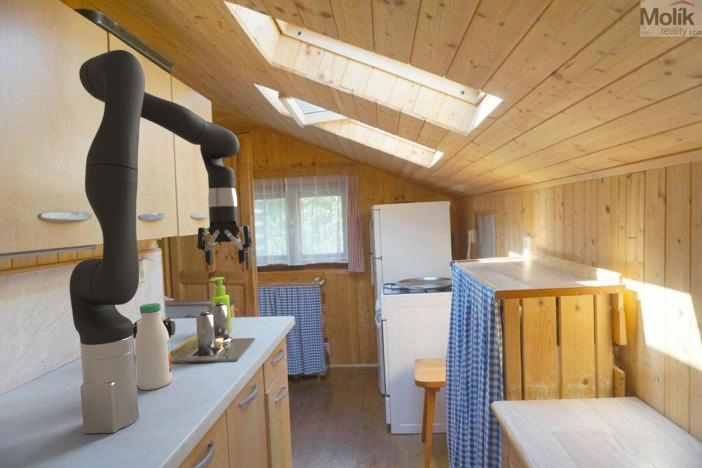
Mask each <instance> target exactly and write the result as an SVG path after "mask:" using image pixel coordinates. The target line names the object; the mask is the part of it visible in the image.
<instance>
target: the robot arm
mask: <svg viewBox="0 0 702 468" xmlns="http://www.w3.org/2000/svg"><path fill="white" fill-rule="evenodd" d="M78 71H79V72H78V73H79V74H78V77H79V80H80V83H81V85H82V87H83V89H84V90H85V91H86V92H87V93H88V94H89V95H90V96H91V97H93V98H94V99H96V100H98V101H100V102H102V103H104V108H103V109H104V110H103V115H102V119H101V122H100V125H99V127H98V128H97V131H96V133H95V135H94V137H93V139H92V140H91V144H90V146H89V148H88V152H87V154H86V161H85V173H84V191H85V195H86V198H87V202H88V204H89V206H90V208H91V210H92V212H93V213H94V215H95V217H96V219H97V222H98V223H99V226H100V229H101V233H102V257H101V258H99V257H95V258H88V259H84V260H81V261H80V262H79V263H78V264H76V265H75V267H74V268H73V269H72V272H71V273H70V278H69V298H70V304H71V305H70V306H71V313H72V321H73V325H74V328H75V331H76V332H77V333H78V336H79V342H80V344H79V345H80V355H81V356H80V358H81V370H82V384H81V385H80V397H81V398H80V401H81V413H82V426H83V427H82V428H83V434H112V433H116V432H118V431H119V430H121V429H124V428H126V427H128V426H130V425H131V424H133V423H135V422H136V421H137V420H138V418H139V417H140V413H139V397H138V396H139V395H138V383H137V368H136V351H135V338H134V336H133V324H134V323H133V322H132V320H131V319H130V318H128V317H126V316H124V315H123V314H122V313H120V311H118V309H117V307H116V306H120V305H125V304H128V303H129V302H131V300H132V299H134V297H135V295H136V294H137V291H138V288H139V282H140V264H139V263H140V262H139V253H138V251H139V250H138V249H139V248H138V240H137V198H138V197H137V195H138V186H139V185H138V179H139V159H138V158H139V143H140V123H141V119H145V120H146V121H149V122H152V123H153V124H156V125H158V126H160V127H161V128H163V129H166V130H167V131H169V132H170V133H172V134H174V135H176V136H177V137H179V138H181V139H183V140H184V141H187V142H188V143H190V144H192V145H196V146H199V150H200V155H201V157H202V158H201V159H202V161H203V163H204V167H205V170H206V173H207V183H208V194H207V200H208V219H209V227H204V226H203V227H198V229H197V248H198V250H202V251H204V253H205V262H206V264H207V265H208V266H211V265H214V252H213V249H214V247H215V246H216V244H218V243H233V244H234V245H235V246H236V247H237V248H238V250H237V251H238V253H237V255H238V264H239V265H243V264H244V262H245V261H246V260H247V259H246V250H247V249H248V248H251V247H253V243H252V234H251V226H249V225H243V226H240V225H239V217H238V198H237V192H236V179H235V176H236V175H235V171H234V169H233V168H232V167H230V166H225V165H224V163H223V160H222V159H226V158H231V157H234V156H235V155H237V154H238V153H239V151H240V142H239V139H238V137H237V136H236V134H234V133H233V132H232V131H231V129H227V128H225V127H224V126H221V125H219V124H216V123H214V122H210V121H207V120H206V119H204V118H203V117H201V116H200V115H198V114H197V113H195V112H194V111H192V110H191V109H189V108H187V107H185V106H183V105H181V104H179V103H176V102H173V101H170V100H167V99H165V98H161V97H159V96H156V95H153V94H150V93H149V92H146V91H145V90H146V77H145V72H144V68H143V66H142V64H141V62H140V60H139V59H138V58H137V57H136V56H135V55H134V54H133V53H132V52H129V51H127V50H125V49H115V50H114V49H113V50H109V51H106V52H103V53H100V54H98V55H96V56H93V57H90V58H89V59H87V60H86V61H84V62H83V63H82V64H81V66H80V68H79V70H78ZM240 231H241V233H242V234H243V237H244V243H243V241H242V240H241V238H240V237H239V236H238V234H239V232H240ZM208 234H210V236H211V237H210V239H209V240H208V243H207V241H206V236H207V235H208ZM206 243H207V244H206Z"/></svg>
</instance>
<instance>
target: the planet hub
mask: <svg viewBox="0 0 702 468" xmlns="http://www.w3.org/2000/svg"><path fill="white" fill-rule="evenodd" d="M209 311H210V310H206V311H200V313H199V314H196V315H195V321H196V334H197V342H198V356H213V355H215V354H216V351H215V333H214V315H213V313H212V312H209Z"/></svg>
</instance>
